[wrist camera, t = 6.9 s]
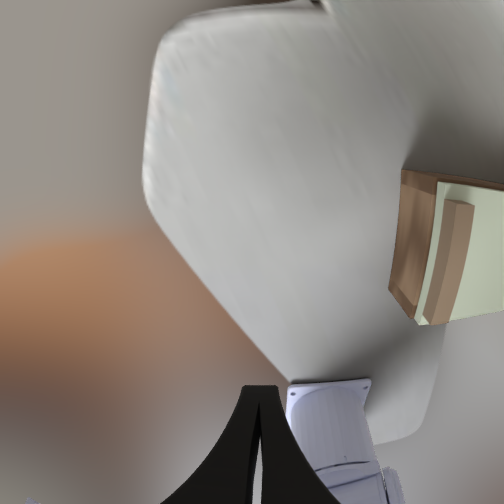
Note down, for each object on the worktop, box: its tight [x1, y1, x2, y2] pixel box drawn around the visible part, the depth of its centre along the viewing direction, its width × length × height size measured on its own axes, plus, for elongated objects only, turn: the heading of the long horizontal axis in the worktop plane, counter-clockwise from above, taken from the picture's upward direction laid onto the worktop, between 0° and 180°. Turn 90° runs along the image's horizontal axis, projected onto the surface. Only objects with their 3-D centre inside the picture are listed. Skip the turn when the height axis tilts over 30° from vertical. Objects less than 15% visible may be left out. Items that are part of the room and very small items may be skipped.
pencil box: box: [388, 169, 504, 319], centre depth 15 cm, size 9×17×5 cm, turn 92°
